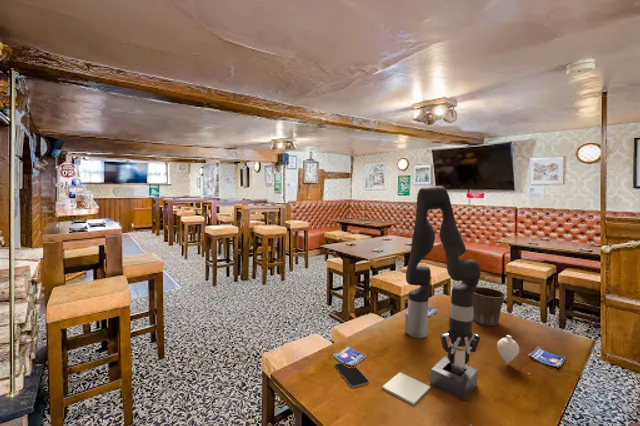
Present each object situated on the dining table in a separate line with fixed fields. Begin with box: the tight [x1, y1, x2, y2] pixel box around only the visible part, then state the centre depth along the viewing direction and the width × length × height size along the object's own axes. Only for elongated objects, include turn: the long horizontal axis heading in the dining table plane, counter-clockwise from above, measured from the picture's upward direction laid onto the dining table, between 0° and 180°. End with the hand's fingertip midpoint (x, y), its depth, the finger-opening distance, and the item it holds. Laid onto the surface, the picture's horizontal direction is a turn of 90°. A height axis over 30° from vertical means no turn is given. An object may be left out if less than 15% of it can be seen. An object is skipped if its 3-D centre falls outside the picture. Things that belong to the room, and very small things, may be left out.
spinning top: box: [496, 334, 520, 365], centre depth 127 cm, size 8×8×12 cm
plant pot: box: [473, 286, 506, 327], centre depth 167 cm, size 16×16×16 cm
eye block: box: [429, 356, 479, 402], centre depth 113 cm, size 12×12×6 cm
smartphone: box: [334, 362, 370, 388], centre depth 119 cm, size 7×1×15 cm
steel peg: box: [451, 343, 466, 377], centre depth 113 cm, size 5×5×14 cm
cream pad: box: [382, 372, 431, 406], centre depth 111 cm, size 12×12×1 cm
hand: (458, 362), depth 113 cm, fingers closed on steel peg, 4 cm apart
